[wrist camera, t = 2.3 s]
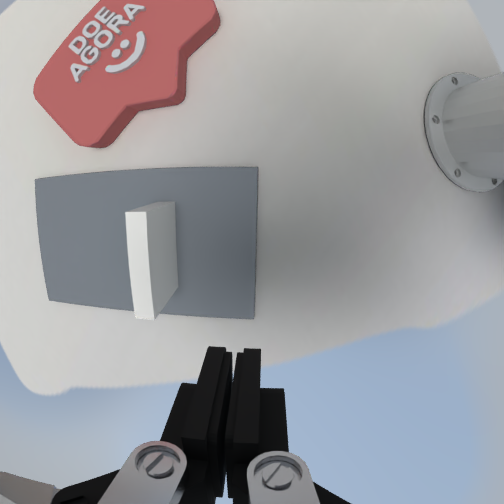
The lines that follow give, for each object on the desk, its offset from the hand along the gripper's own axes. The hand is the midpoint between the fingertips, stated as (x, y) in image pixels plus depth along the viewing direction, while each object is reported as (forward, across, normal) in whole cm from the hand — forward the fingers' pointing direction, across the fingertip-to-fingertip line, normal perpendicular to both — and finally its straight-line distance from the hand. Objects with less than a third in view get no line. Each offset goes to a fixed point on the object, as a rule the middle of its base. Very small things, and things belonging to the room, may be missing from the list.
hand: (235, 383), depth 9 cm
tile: (+18, +8, 0) cm, 20 cm away
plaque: (+20, +12, -18) cm, 29 cm away
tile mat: (+19, +12, 0) cm, 22 cm away
